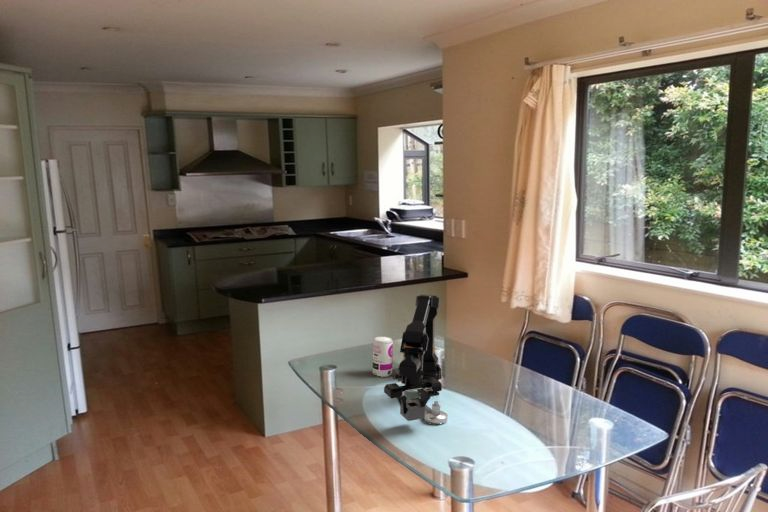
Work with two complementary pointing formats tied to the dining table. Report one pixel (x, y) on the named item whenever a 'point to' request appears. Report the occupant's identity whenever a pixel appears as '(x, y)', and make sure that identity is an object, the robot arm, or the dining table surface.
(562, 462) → the dining table surface
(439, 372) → the robot arm
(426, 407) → the ratchet
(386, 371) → the supplement can
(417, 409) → the socket
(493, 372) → the dining table surface
